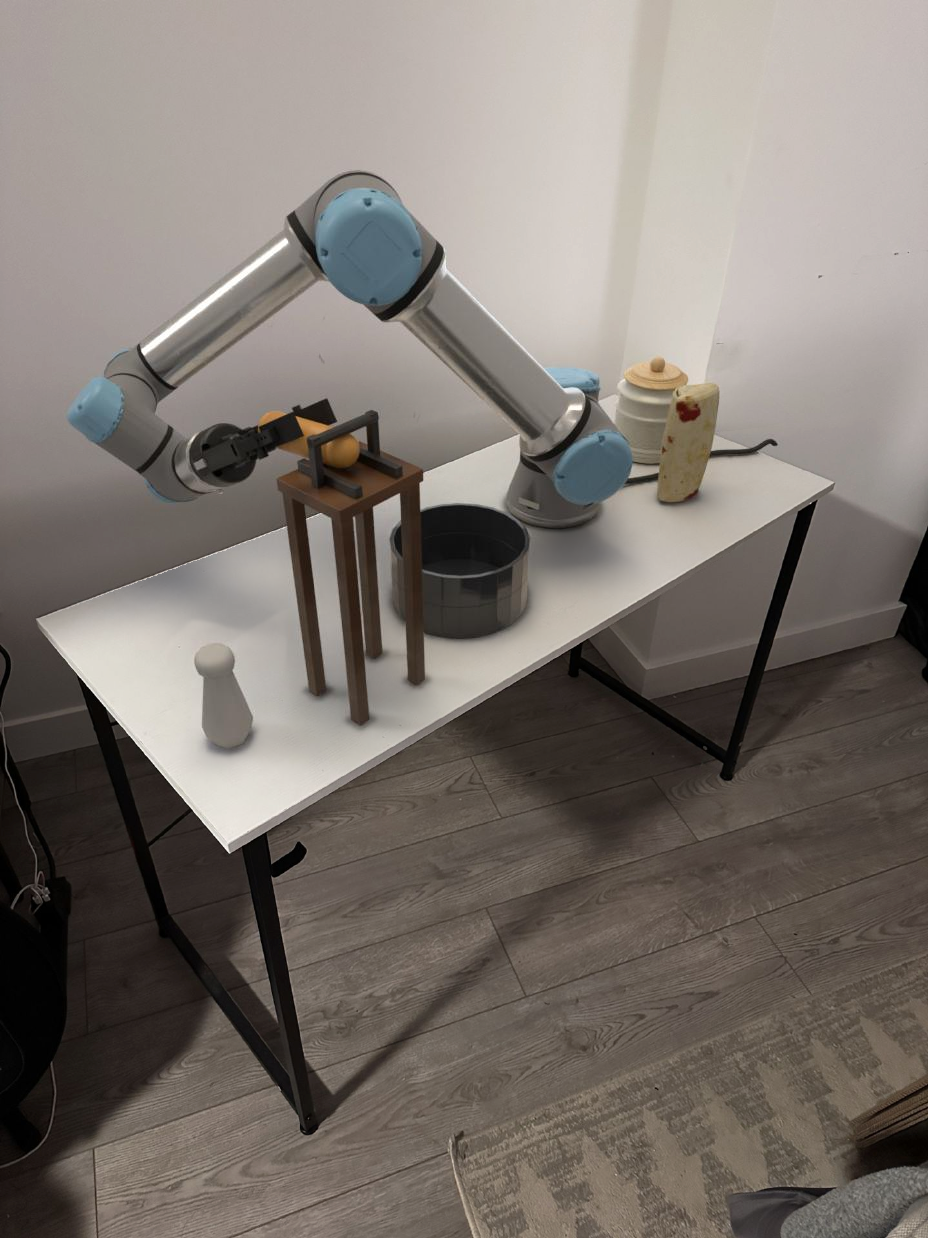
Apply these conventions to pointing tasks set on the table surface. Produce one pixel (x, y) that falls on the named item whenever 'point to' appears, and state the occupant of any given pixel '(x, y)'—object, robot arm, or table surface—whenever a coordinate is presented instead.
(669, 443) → the food model
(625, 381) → the jar
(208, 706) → the salt shaker
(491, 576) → the pot
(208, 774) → the table surface
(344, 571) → the shelf stand
